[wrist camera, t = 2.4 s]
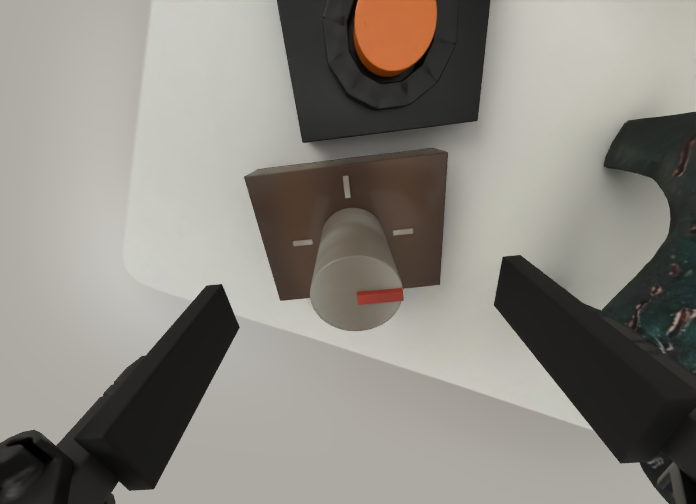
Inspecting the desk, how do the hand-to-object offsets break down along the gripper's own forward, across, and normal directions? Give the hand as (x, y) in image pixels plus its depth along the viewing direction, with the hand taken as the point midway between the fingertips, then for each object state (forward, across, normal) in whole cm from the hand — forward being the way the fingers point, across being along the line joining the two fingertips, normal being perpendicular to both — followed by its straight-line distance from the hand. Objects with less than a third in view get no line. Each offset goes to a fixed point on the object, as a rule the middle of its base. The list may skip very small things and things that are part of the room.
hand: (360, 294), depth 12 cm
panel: (+10, 0, 0) cm, 10 cm away
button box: (+10, +3, +11) cm, 15 cm away
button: (+6, +3, +11) cm, 13 cm away
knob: (+7, 0, 0) cm, 7 cm away
